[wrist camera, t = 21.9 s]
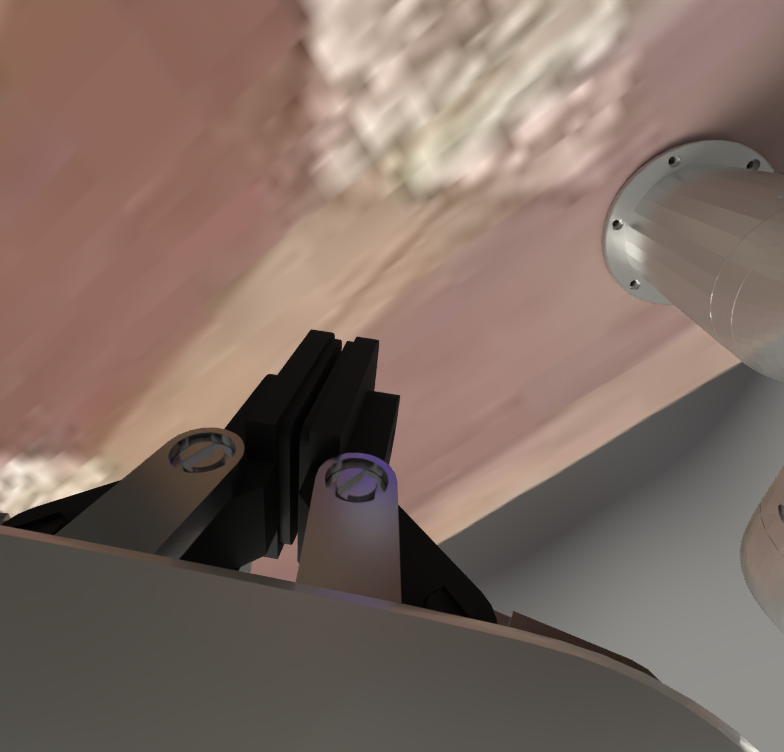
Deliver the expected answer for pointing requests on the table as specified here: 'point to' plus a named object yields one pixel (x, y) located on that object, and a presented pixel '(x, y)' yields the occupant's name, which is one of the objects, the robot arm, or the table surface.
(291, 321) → the table surface
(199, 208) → the table surface
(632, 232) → the robot arm
